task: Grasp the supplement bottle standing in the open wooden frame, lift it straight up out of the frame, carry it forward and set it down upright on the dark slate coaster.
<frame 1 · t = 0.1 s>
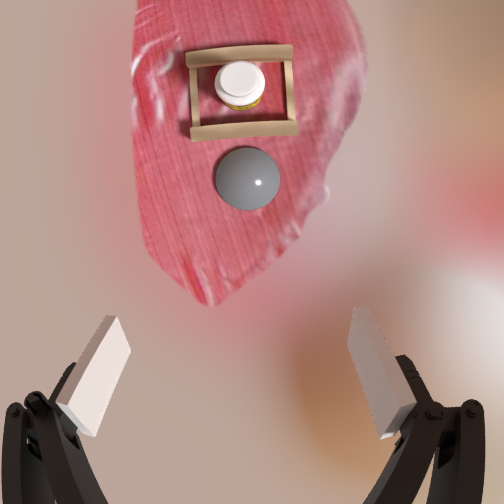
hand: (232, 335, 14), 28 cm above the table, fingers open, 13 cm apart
supplement bottle: (242, 92, 33), resting in open wooden frame
coaster: (247, 178, 38), on the table
open wooden frame: (241, 92, 33), on the table
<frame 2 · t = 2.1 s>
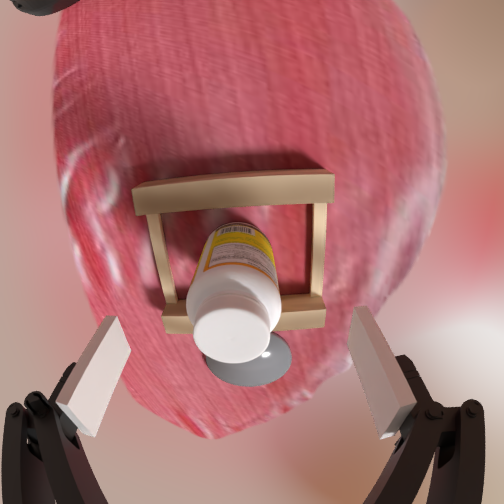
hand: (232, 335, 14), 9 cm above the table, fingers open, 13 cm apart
supplement bottle: (238, 250, 23), resting in open wooden frame
coaster: (248, 357, 28), on the table
open wooden frame: (238, 251, 23), on the table
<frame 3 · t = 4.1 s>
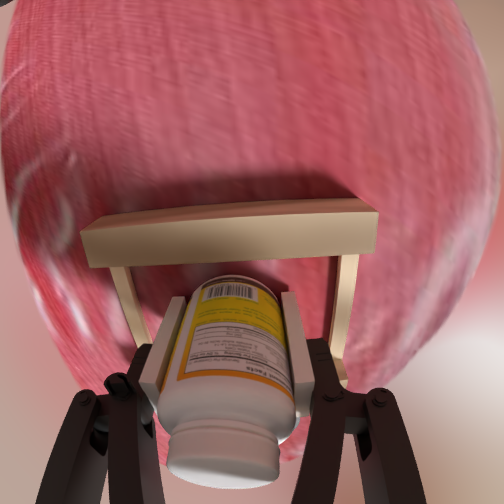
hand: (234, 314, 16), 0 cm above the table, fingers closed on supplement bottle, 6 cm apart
supplement bottle: (235, 308, 16), resting in open wooden frame, touching gripper
open wooden frame: (234, 310, 16), on the table
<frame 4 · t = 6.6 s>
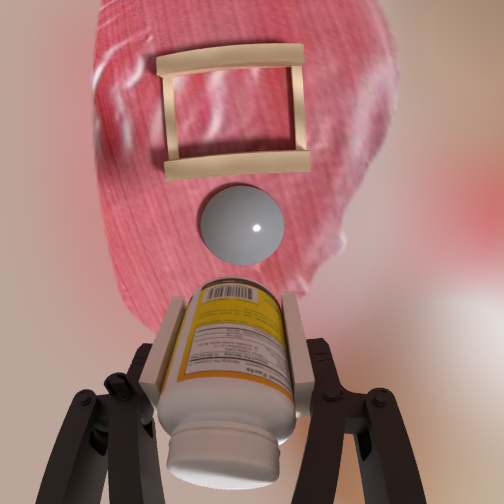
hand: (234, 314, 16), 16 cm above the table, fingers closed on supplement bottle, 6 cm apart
supplement bottle: (235, 309, 16), point 15 cm above the table, touching gripper
coaster: (242, 225, 30), on the table
open wooden frame: (233, 109, 25), on the table
when the fingers open (2 cm above the table, at t = 9.6 s): supplement bottle drops 1 cm, resting on coaster.
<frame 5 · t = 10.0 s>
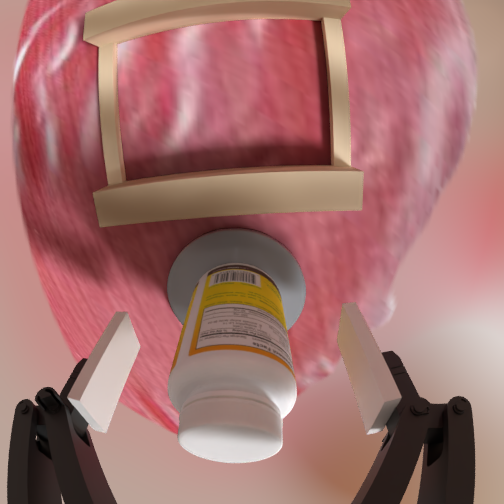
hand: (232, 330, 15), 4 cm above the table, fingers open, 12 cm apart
supplement bottle: (237, 295, 18), resting on coaster
coaster: (236, 292, 18), on the table
open wooden frame: (218, 90, 13), on the table
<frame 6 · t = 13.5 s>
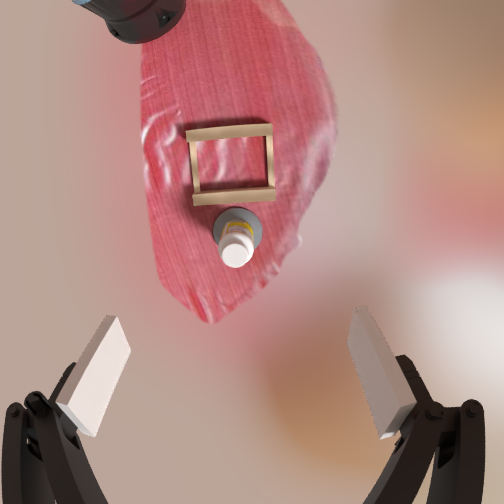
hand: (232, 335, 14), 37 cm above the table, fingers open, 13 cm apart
supplement bottle: (238, 231, 50), resting on coaster
coaster: (237, 231, 51), on the table
open wooden frame: (232, 163, 46), on the table
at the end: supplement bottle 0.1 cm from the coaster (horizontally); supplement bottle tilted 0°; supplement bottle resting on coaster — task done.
